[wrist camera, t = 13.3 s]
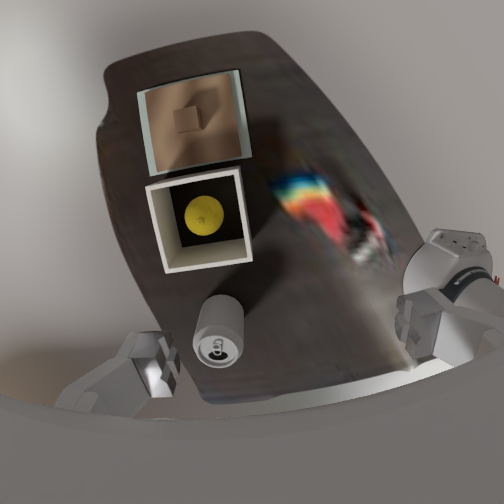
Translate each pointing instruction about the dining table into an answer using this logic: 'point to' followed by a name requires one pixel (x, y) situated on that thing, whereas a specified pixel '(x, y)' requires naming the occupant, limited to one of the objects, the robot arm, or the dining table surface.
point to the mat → (238, 112)
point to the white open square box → (199, 254)
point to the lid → (193, 122)
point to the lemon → (204, 215)
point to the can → (219, 331)
